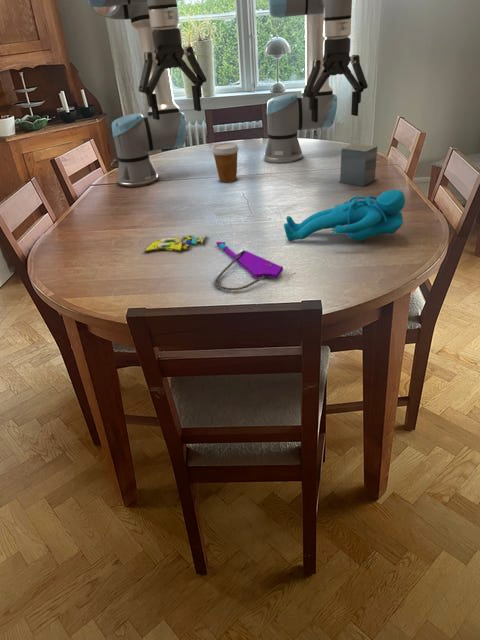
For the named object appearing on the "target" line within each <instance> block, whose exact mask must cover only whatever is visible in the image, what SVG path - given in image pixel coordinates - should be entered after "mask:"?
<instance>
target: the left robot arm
mask: <svg viewBox="0 0 480 640" xmlns="http://www.w3.org/2000/svg"><path fill="white" fill-rule="evenodd" d="M87 4H88V6H89V7H90V8H92V9H93V10H94V11H95V12H96V13H97V14H98V15H100V16H101V17H103V18H106V19H111V20H119V21H123V20H124V21H125V20H130V23H131V26H132V27H133V29H135V30H136V32H137V37H138V43H139V47H140V53H141V59H142V65H143V68H142V72H141V76H140V80H139V84H138V92H139V93H142V94H145V95H146V100H147V101H146V102H147V106H148V107H149V108H148V110H147V116H146V117H144V116H143V114H142V113H138V112H137V113H130V114H127V115H124V116H120V117H119V118H116V119H114V120H113V121H112V122H111V131H112V137H113V141H114V145H115V151H116V155H117V159H113V160H112V161H110V164H109V167H110V168H112V169H118V170H117V183H118V186H120V187H123V188H124V187H125V188H136V187H137V188H138V187H145V186H147V185H148V186H149V185H151V184H154V183H156V182H157V181H158V180H159V176H158V172H157V169H156V168H155V166H154V163H153V161H152V159H151V156H150V152H153V151H161V150H168V149H176V148H180V147H183V146H184V145H185V143H186V141H187V122H186V115H185V113H184V112H182V111H180V106H178V105H177V104H176V103H175V101H174V94H173V93H174V92H173V87H172V81H171V75H170V69H172V68H174V69H180V70H181V71H182V72H183V74H184V75H185V76H186V78H188V79H189V80H190V82H191V83H192V84H193V85H191V92H192V93H191V95H192V101H193V110H194V111H195V112H201V111H202V105H201V98H202V96H203V93H202V86H203V84H204V83H206V82H207V78H206V75H205V73H204V72H203V70H202V68H201V65H200V64H199V62H198V59H197V58H196V56H195V52H194V47H193V46H185V47H184V48H183V44H182V43H183V41H182V39H183V38H182V31H181V29H180V28H179V27H178V26H180V16H179V8H178V1H177V0H87ZM184 56H185V57H186V59H187V61H188V63H189V65H190V66H191V68H192V69H191V68H190V67H189V66H188V64H187V62H186V61H185V60H184V58H183V57H184ZM192 70H193V71H192ZM114 163H115V164H116V163H118V165H113V164H114Z"/></svg>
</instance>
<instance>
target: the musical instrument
mask: <svg viewBox="0 0 480 640" xmlns="http://www.w3.org/2000/svg"><path fill="white" fill-rule="evenodd" d="M216 246H218V247H219V249H220V250H221V251H223V252H225V254H227V255H228V256H229V257H231V259H233V260H232V261H231V262H230V263H229V264H227V266H225V268H224V269H223V270H222V271H221V272H220V273H219V274H218V275H217V276H216V278H215V280H214V284H215V287H216V288H217V289H222V290H225V291H239V290H243V289H246V288H249V287H251V286H253V285H255V284H256V283H258V282H260V281H261V280H262V279H264V278H272V279H278V278H279V277H280V275H281V274H282V273H283V271H284V266H282V265H280V264H277V263H275V262H273V261H270V260H268V259H265V258H263V257H261V256H259V255H257V254H254V253H252V252H250V251H248V250H244V249H243V250H242V251H240V252H238V253H235V252H234V251H232V250H231V249H230V248H229V247H228V246H227V245H226V242H225V241H216ZM234 263H237V264H239V265H240V266H241V267H242V268H244V269H245V270H246V271H247V272H248V273H249V274H251V275H252V276H253V277H255V280H254V281H251V282H250V283H248V284H246V285H243V286H240V287H226V286H221V285H220V284H219V280H220V278H221V277H222V276H223V275H224V273H226V272H227V270H228V269H229V268H230V267H231V266H233V264H234Z"/></svg>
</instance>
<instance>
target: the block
mask: <svg viewBox="0 0 480 640" xmlns="http://www.w3.org/2000/svg"><path fill="white" fill-rule="evenodd" d="M340 151H341V152H340V172H339V173H340V178H339V179H340V180H339V182H340V183H342V184H349V185H354V186H361V187H365V186H367V185H370V183H372V182H374V181H375V180H376V171H377V159H378V158H377V156H378V146H377V145H370V144H369V145H368V144H360V143H351V144H349V145H347V146H345V147H342V148H341V150H340Z"/></svg>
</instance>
